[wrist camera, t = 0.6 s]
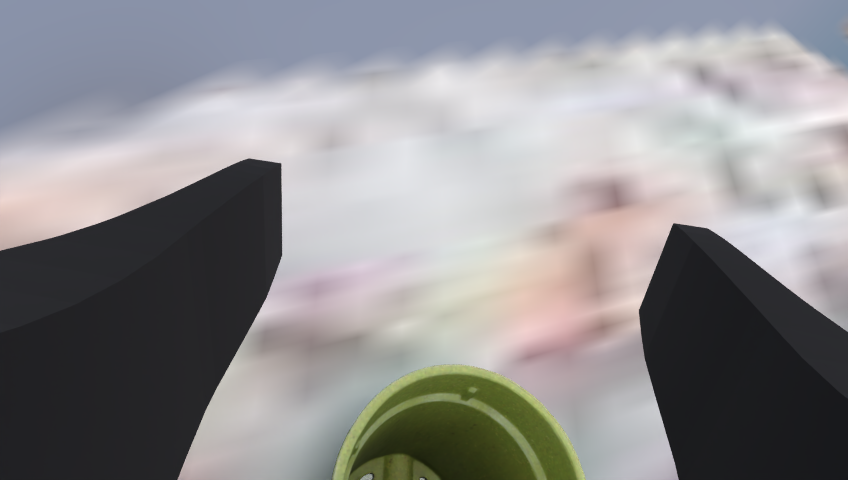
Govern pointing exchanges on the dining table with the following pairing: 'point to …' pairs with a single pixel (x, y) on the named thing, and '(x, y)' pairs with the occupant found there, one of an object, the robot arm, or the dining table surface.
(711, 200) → the dining table surface
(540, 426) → the plant pot
